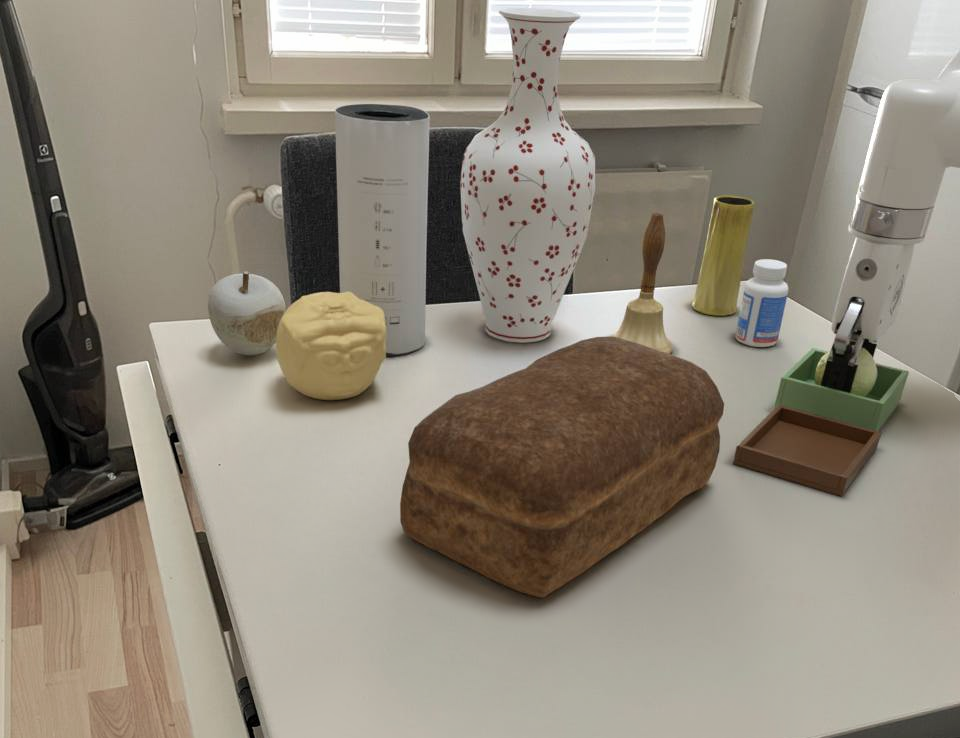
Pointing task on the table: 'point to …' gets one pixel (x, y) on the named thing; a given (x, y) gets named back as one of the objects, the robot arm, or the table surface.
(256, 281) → the decorative object
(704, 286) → the vase
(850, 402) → the green bin
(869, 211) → the robot arm
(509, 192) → the vase
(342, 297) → the sculpture
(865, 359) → the tennis ball
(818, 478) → the walnut tray
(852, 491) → the table surface
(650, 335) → the hand bell
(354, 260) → the speaker
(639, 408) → the bread
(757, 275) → the pill bottle
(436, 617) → the table surface
